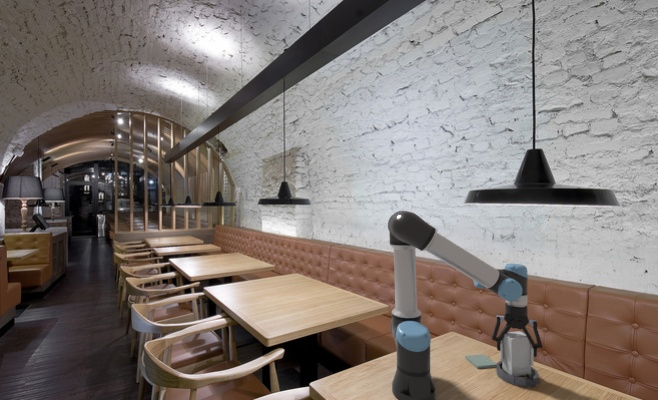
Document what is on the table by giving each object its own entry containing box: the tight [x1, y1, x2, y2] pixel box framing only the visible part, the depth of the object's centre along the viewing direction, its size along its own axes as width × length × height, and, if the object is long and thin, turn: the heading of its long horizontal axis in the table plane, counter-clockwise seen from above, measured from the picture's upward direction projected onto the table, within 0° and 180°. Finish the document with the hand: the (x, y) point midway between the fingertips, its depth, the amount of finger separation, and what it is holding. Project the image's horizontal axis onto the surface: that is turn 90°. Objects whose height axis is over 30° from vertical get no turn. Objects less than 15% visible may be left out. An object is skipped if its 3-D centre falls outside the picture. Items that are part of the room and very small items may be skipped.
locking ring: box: [495, 360, 540, 388], centre depth 124 cm, size 14×15×4 cm
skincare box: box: [501, 330, 532, 377], centre depth 124 cm, size 8×6×15 cm
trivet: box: [464, 353, 497, 369], centre depth 136 cm, size 9×9×1 cm
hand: (516, 361), depth 124 cm, fingers closed on skincare box, 10 cm apart
